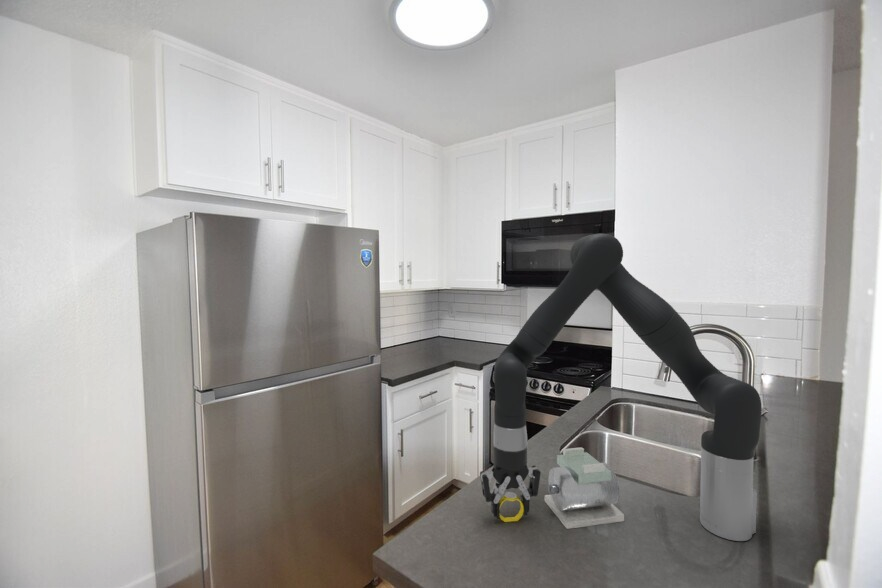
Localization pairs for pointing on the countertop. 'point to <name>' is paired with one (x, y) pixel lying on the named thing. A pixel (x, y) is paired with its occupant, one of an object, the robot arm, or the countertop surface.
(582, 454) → the motor
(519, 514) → the yellow watch
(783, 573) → the countertop surface
